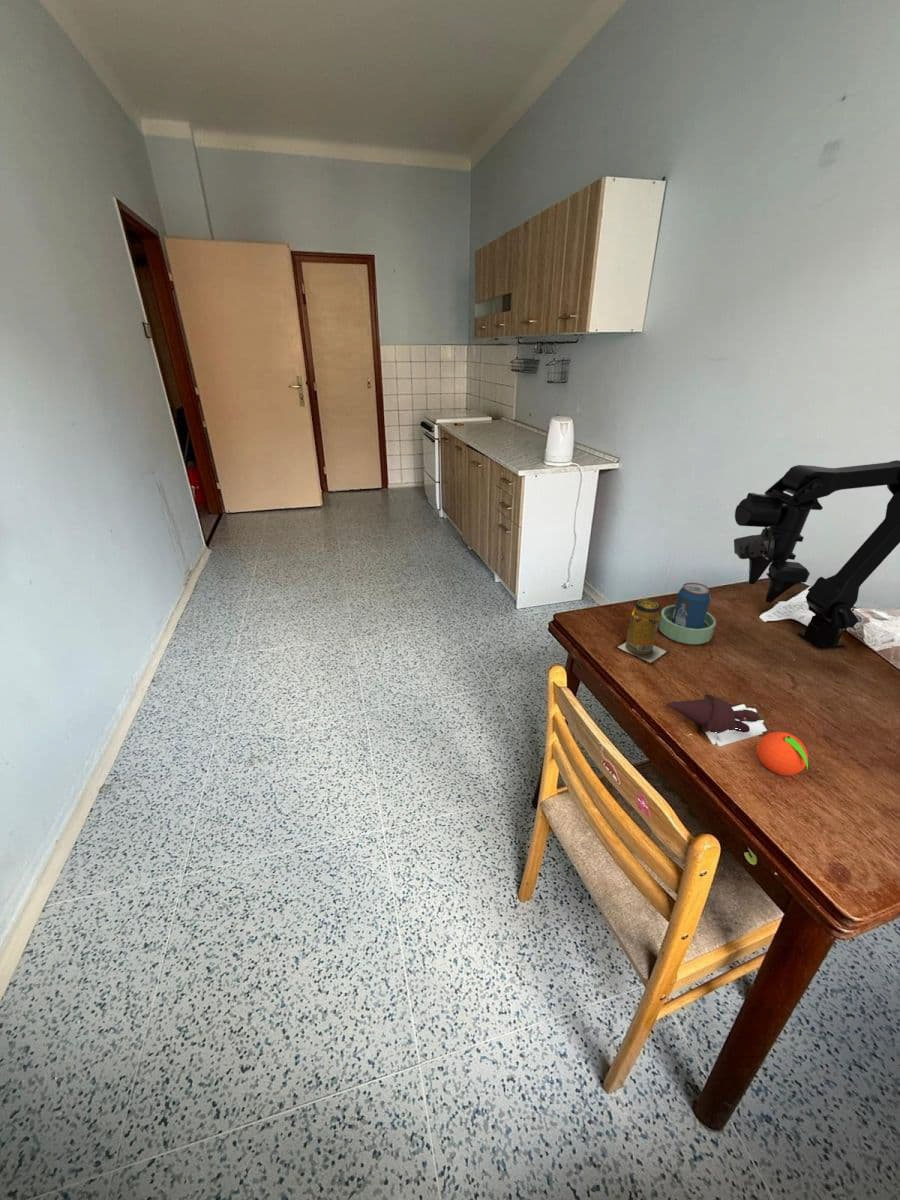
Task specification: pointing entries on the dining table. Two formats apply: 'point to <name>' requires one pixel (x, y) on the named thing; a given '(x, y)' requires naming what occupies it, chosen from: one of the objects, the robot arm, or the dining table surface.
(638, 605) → the condiment
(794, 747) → the clementine
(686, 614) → the soda can
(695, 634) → the pale green shallow bowl
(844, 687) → the dining table surface
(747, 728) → the icecream
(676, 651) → the dining table surface
